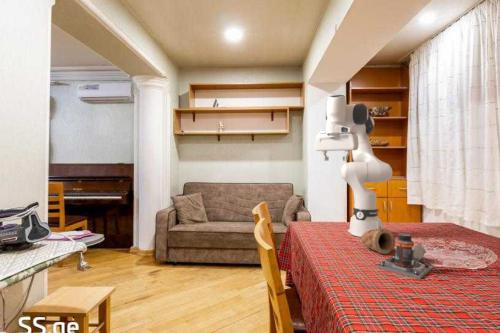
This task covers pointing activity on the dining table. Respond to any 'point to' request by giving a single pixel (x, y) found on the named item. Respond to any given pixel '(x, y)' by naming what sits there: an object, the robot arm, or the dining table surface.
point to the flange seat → (414, 271)
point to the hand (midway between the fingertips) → (335, 160)
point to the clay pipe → (379, 240)
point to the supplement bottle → (404, 251)
